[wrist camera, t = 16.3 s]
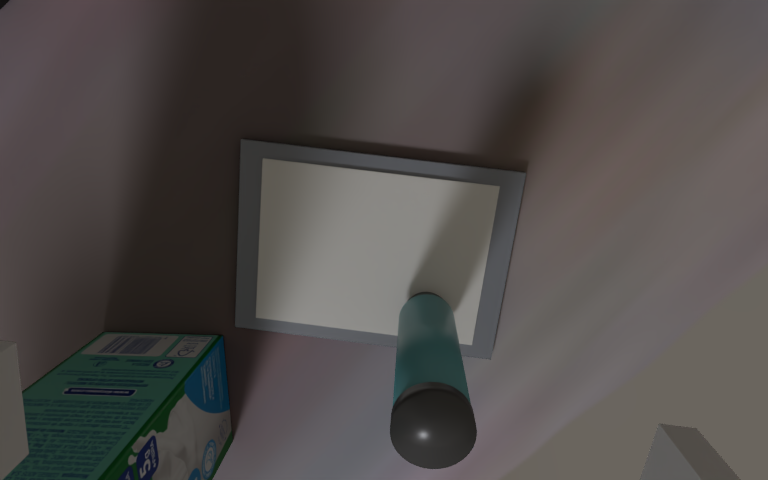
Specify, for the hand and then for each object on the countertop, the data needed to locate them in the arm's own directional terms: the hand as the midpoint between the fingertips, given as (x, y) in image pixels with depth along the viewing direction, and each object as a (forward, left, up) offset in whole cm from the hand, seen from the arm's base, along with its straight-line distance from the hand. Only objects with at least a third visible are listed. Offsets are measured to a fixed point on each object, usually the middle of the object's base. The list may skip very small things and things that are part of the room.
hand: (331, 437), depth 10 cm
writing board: (-1, -3, -23) cm, 23 cm away
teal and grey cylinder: (+3, -7, -22) cm, 23 cm away
